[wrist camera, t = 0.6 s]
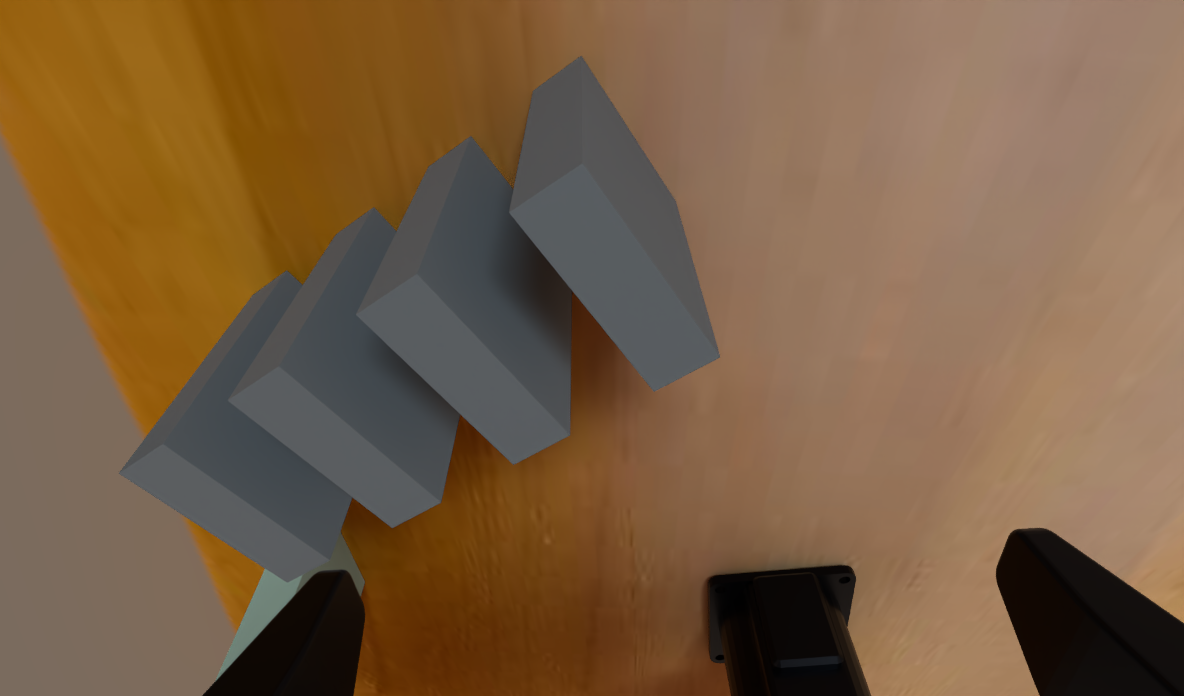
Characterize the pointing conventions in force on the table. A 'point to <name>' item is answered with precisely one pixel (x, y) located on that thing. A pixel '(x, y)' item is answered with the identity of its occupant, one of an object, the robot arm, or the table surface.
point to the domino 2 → (351, 388)
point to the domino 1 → (241, 457)
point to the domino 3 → (477, 306)
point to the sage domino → (284, 598)
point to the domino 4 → (611, 227)
